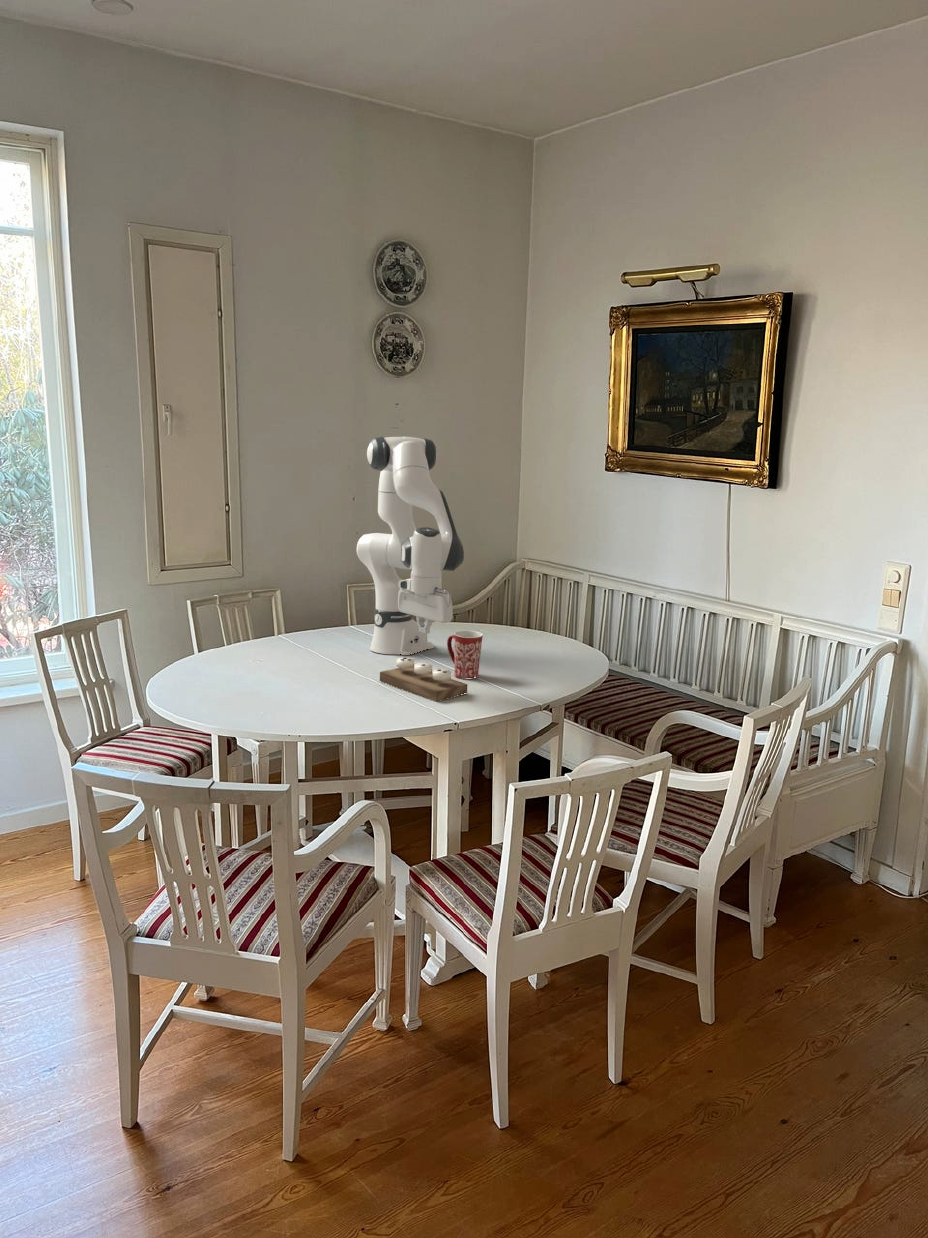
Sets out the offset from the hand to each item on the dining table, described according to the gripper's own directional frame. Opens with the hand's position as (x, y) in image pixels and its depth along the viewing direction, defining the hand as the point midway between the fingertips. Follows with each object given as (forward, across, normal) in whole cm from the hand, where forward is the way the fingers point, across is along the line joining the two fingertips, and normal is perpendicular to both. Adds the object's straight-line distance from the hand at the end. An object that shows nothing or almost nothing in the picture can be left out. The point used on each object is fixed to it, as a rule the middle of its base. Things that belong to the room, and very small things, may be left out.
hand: (424, 632), depth 272 cm
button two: (+12, -8, 0) cm, 14 cm away
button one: (+12, 0, 0) cm, 12 cm away
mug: (+17, +3, -19) cm, 26 cm away
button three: (+12, +8, 0) cm, 14 cm away
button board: (+17, 0, 0) cm, 17 cm away
